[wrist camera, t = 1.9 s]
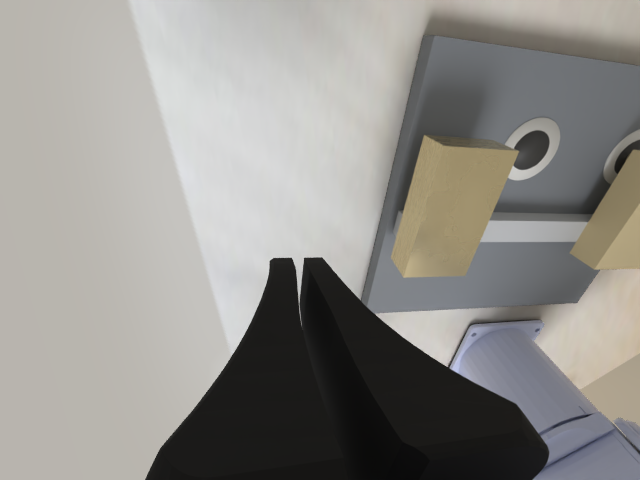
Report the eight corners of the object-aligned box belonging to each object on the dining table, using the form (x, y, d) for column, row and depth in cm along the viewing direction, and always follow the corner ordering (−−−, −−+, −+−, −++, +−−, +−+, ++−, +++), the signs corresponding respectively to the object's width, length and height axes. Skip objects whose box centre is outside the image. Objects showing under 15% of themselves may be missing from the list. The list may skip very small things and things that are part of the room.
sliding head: (439, 247, 22) (465, 275, 19) (384, 247, 21) (403, 277, 18) (480, 134, 18) (519, 151, 15) (414, 129, 17) (444, 145, 14)
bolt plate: (565, 294, 29) (610, 330, 26) (360, 302, 25) (379, 347, 22) (709, 77, 20) (810, 86, 17) (423, 35, 16) (473, 34, 12)
